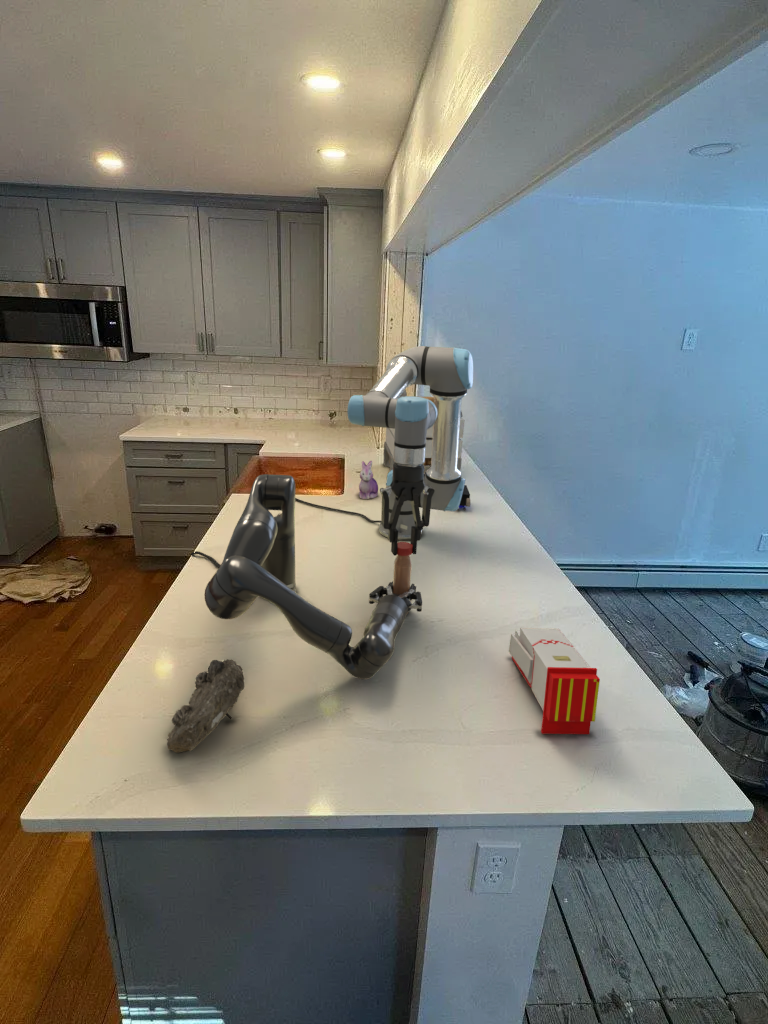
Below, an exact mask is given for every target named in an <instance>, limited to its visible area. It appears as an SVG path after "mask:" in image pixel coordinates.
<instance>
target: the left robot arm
mask: <svg viewBox="0 0 768 1024" xmlns="http://www.w3.org/2000/svg"><path fill="white" fill-rule="evenodd" d="M296 489H297V487H296V481H295V478H294V477H293V475H289V474H270V473H269V474H267V473H266V474H259V475H258V476H257V477H256V478H254V480H253V483H252V486H251V488H250V491H249V495H248V499H247V503H246V504H245V507H244V510H243V511H242V513H241V515H240V518H239V519H238V521H237V523H236V524H235V527H234V529H233V532H232V534H231V537H230V540H229V542H228V545H227V547H226V550H225V554H224V556H223V559H222V562H221V564H220V563H219V562H217V560H216V559H215V558H213V557H212V556H211V555H208V554H206V553H204V552H201V551H199V550H198V551H196V552H195V551H193V552H191V553H190V554H189V555H190V556H194V555H199V556H202V557H204V558H206V559H208V560H210V561H211V562H212V563H213V564H214V565H215V566H216V567H218V569H216V571H215V573H214V574H213V575H212V577H211V578H210V580H209V581H208V583H207V584H206V587H205V589H204V601H205V605H206V607H207V609H208V610H209V612H210V613H211V614H212V615H213V616H215V617H216V618H218V619H221V620H234V619H237V618H240V617H241V616H242V615H244V614H245V613H246V612H247V611H248V610H249V609H250V607H251V606H252V605H253V603H254V602H255V601H256V600H257V598H258V597H259V598H261V599H264V600H265V601H268V602H269V603H271V604H272V605H274V606H275V607H276V608H277V609H278V610H279V612H281V614H282V615H283V616H284V618H285V620H286V621H287V622H288V624H289V625H290V627H291V629H292V631H294V633H295V634H296V635H297V636H298V637H299V638H300V639H301V640H302V641H304V642H305V643H307V644H308V645H310V646H312V647H314V648H316V649H318V650H319V651H322V652H324V653H325V654H328V655H329V656H330V657H331V658H333V659H334V660H335V661H336V662H337V663H338V664H339V665H340V666H341V667H342V668H343V669H344V670H345V671H346V672H348V673H349V674H350V675H351V676H353V677H354V678H356V679H359V680H369V679H371V678H372V677H374V676H375V675H376V674H377V673H378V672H379V671H380V670H381V669H382V668H383V667H384V666H385V665H386V664H387V663H388V661H389V660H391V658H392V656H393V654H394V653H395V647H396V646H395V642H396V641H395V640H396V637H397V635H398V633H399V632H400V630H401V629H402V627H403V624H404V622H405V619H406V617H407V615H408V614H409V613H408V611H409V612H410V611H411V610H413V609H414V610H416V611H417V612H419V613H421V612H422V611H423V598H422V593H421V591H417V585H415V584H416V583H410V589H409V591H408V592H407V591H406V592H404V593H403V594H402V595H401V594H395V593H392V591H393V580H392V581H390V582H388V585H387V586H386V587H384V585H379V586H378V587H376V588H375V589H373V590H372V591H371V592H369V597H368V604H369V605H373V604H375V603H376V605H375V607H374V609H373V610H372V612H371V615H370V618H369V620H368V622H367V624H366V626H365V628H364V632H363V637H362V638H361V639H360V640H359V641H358V642H357V644H356V645H355V646H352V645H350V643H351V640H352V638H353V630H352V628H351V626H350V625H349V624H347V623H346V622H344V621H343V620H340V619H338V618H336V617H335V616H333V615H331V614H330V613H328V612H325V611H324V610H322V609H320V608H318V607H317V606H315V605H313V604H312V603H310V602H309V601H308V600H306V599H305V598H303V597H302V596H301V595H299V594H298V592H296V591H297V587H296V586H297V585H296V526H295V525H296V524H295V521H296V520H295V519H296V516H295V515H296V514H295V513H296V512H295V511H296V500H295V498H296V492H297V491H296ZM270 511H281V513H279V515H278V514H277V515H278V516H277V515H276V516H274V515H273V514H272V512H270ZM194 552H195V553H194ZM412 602H413V603H412ZM407 613H408V614H407Z"/></svg>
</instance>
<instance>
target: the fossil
mask: <svg viewBox="0 0 768 1024" xmlns="http://www.w3.org/2000/svg"><path fill="white" fill-rule="evenodd" d="M243 670H244V669H243V667H242V665H240V664H237V662H236V661H235V660H234V659H232V658H231V659H227V658H226V659H224V660H223V661H222V660H217V659H212V660H211V661H210V663H209V665H208V666H207V671H201V672H199V673H198V674H197V675H196V676H195V680H194V684H195V685H194V687H195V689H194V690H193V693H192V694H191V697H190V698H189V700H188V704H184V705H182V706H181V707H180V709H177V710H176V711H175V713H174V715H173V716H172V718H171V723H172V724H173V727H172V730H171V731H170V732H168V734H167V738H166V741H167V742H166V745H167V749H168V750H169V751H173V752H174V753H176V754H178V753H182V752H188V751H189V752H192V751H193V750H195V748H196V747H197V746H199V744H200V743H201V742H203V741H204V740H205V739H206V738H207V737H208V736H209V735H210V734H211V733H212V732H214V730H215V729H217V727H218V726H219V724H220V722H221V721H222V720H223V719H224V718H225V716H226V717H227V719H229V720H233V717H232V715H230V714H229V710H230V709H231V708H234V706H235V704H236V703H237V702H238V699H239V697H240V695H241V693H242V691H243V690H245V689H244V688H245V675H244V671H243Z"/></svg>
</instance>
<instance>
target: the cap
mask: <svg viewBox="0 0 768 1024" xmlns="http://www.w3.org/2000/svg"><path fill="white" fill-rule="evenodd" d="M412 550H413V545H412V544H411V542H408V541H399V542H398V545H397V555H400V556H409V555H410V556H411V555H413V553H412ZM397 555H396V556H397Z"/></svg>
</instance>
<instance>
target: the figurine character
mask: <svg viewBox="0 0 768 1024" xmlns="http://www.w3.org/2000/svg"><path fill="white" fill-rule="evenodd" d="M466 507H468V508H470V507H471V493H470V491H469V488H468V486H467V485H466V484H465V485H464V490H463V494H462V498H461V501H460V505H459V507H458V509H457V510H456V511H459V510H460V509H463V511H465V512H466V511H467V508H466Z"/></svg>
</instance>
